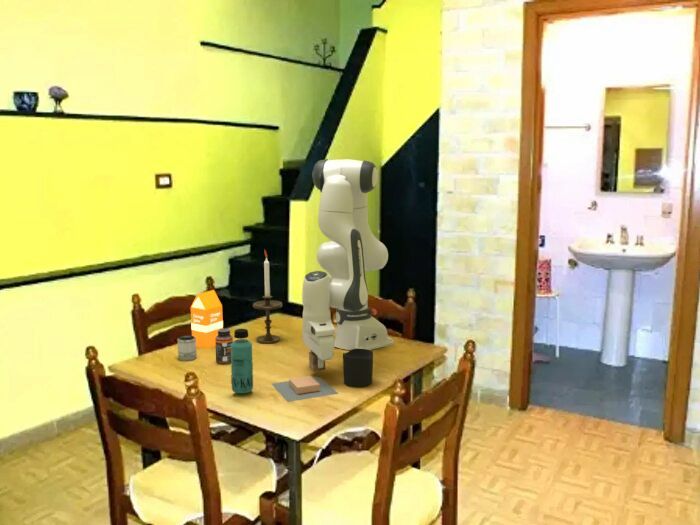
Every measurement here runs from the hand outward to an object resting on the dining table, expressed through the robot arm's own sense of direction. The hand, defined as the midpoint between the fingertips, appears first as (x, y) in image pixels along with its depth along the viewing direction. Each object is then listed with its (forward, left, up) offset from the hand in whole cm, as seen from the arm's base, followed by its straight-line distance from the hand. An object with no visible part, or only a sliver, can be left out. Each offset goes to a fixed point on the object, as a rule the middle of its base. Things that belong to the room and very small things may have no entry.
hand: (317, 364), depth 214 cm
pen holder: (-9, +12, -4) cm, 15 cm away
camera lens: (+35, -35, -4) cm, 50 cm away
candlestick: (+3, -44, -4) cm, 45 cm away
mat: (+8, +10, -4) cm, 13 cm away
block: (0, 0, -1) cm, 1 cm away
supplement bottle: (+24, -26, -4) cm, 36 cm away
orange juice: (+25, -49, -4) cm, 56 cm away
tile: (+8, +6, -2) cm, 10 cm away
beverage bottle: (+26, +6, -4) cm, 27 cm away
